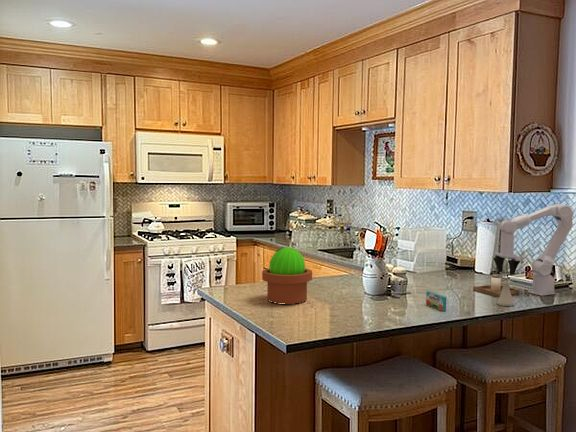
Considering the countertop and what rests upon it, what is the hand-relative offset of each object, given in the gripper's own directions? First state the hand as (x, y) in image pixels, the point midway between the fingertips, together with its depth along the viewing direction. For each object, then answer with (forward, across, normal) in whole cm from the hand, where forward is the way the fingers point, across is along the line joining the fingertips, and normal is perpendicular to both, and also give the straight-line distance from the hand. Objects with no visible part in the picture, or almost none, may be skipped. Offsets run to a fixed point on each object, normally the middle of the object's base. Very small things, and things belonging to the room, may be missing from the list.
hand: (506, 273), depth 249 cm
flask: (+10, +18, -18) cm, 27 cm away
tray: (+9, -2, -4) cm, 10 cm away
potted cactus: (+10, -25, -104) cm, 107 cm away
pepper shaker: (+9, -2, -4) cm, 10 cm away
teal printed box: (+10, +11, -50) cm, 52 cm away
